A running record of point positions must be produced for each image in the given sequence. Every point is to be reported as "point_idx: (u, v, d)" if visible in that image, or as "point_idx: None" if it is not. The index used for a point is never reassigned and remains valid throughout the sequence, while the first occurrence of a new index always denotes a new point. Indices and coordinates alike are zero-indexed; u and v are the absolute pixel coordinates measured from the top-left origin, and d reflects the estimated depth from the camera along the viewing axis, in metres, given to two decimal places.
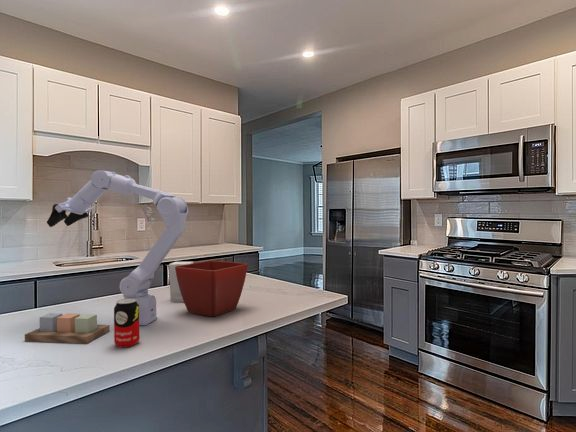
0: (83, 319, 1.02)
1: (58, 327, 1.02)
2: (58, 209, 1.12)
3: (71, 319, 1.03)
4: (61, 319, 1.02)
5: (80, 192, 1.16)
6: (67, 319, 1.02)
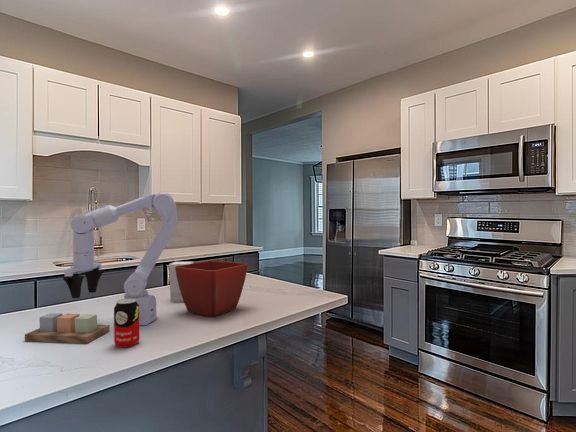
0: (83, 319, 1.02)
1: (58, 327, 1.02)
2: (68, 274, 1.06)
3: (71, 319, 1.03)
4: (61, 319, 1.02)
5: (77, 250, 1.10)
6: (67, 319, 1.02)
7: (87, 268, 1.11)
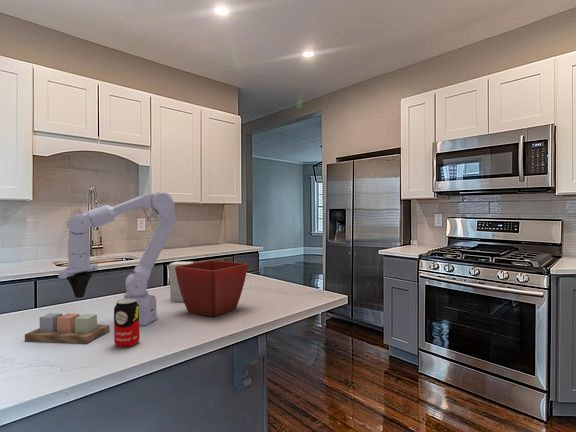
0: (83, 319, 1.02)
1: (58, 327, 1.02)
2: (62, 275, 1.03)
3: (71, 319, 1.03)
4: (61, 319, 1.02)
5: (73, 251, 1.07)
6: (67, 319, 1.02)
7: (82, 269, 1.08)
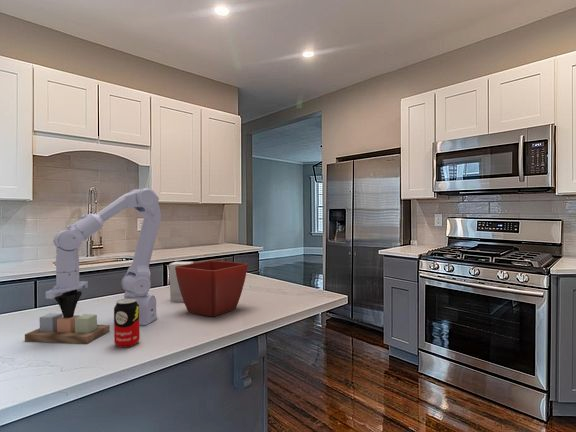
0: (83, 319, 1.02)
1: (58, 328, 1.02)
2: (49, 296, 0.97)
3: (71, 320, 1.03)
4: (61, 320, 1.02)
5: (65, 269, 1.01)
6: (67, 320, 1.02)
7: (71, 288, 1.02)
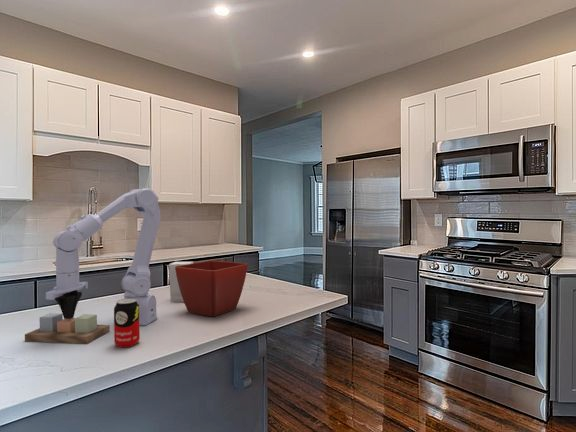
0: (83, 319, 1.02)
1: (58, 331, 1.02)
2: (50, 297, 0.97)
3: (71, 323, 1.03)
4: (61, 323, 1.02)
5: (65, 269, 1.01)
6: (67, 323, 1.02)
7: (71, 289, 1.02)
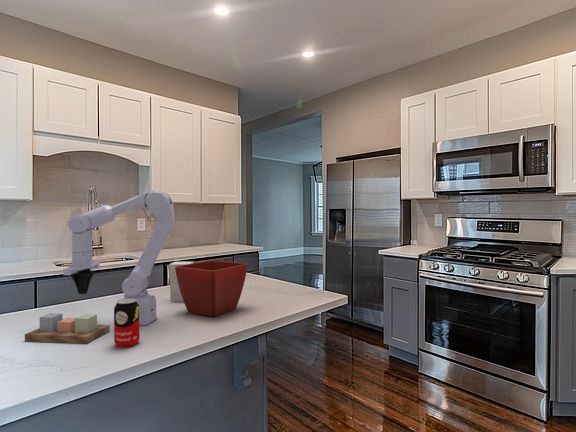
0: (83, 319, 1.02)
1: (58, 331, 1.02)
2: (67, 273, 1.08)
3: (71, 323, 1.03)
4: (61, 323, 1.02)
5: (74, 249, 1.12)
6: (67, 323, 1.02)
7: (85, 267, 1.13)
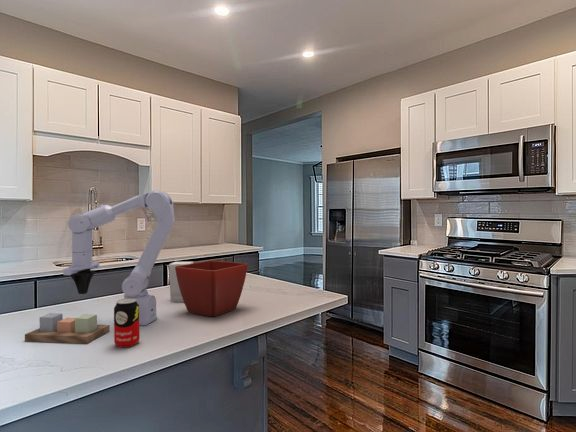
0: (83, 319, 1.02)
1: (58, 331, 1.02)
2: (67, 273, 1.08)
3: (71, 323, 1.03)
4: (61, 323, 1.02)
5: (74, 249, 1.12)
6: (67, 323, 1.02)
7: (85, 267, 1.13)
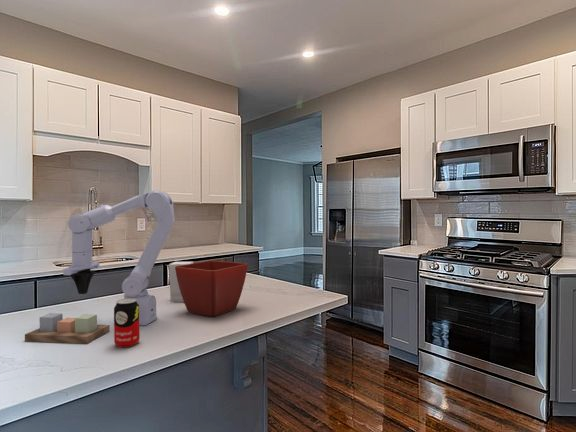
0: (83, 319, 1.02)
1: (58, 331, 1.02)
2: (67, 273, 1.08)
3: (71, 323, 1.03)
4: (61, 323, 1.02)
5: (74, 249, 1.12)
6: (67, 323, 1.02)
7: (85, 267, 1.13)
